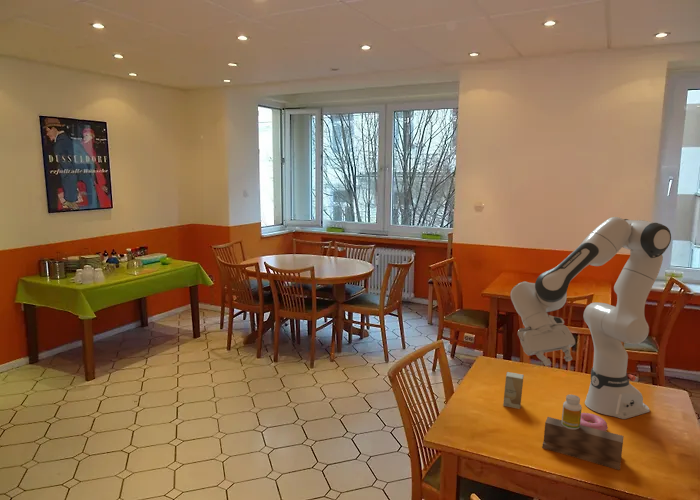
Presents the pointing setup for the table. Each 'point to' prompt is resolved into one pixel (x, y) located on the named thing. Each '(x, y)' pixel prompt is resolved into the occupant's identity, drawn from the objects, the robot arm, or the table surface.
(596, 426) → the doughnut
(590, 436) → the beam
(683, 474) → the table surface
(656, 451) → the table surface
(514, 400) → the skincare box
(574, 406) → the supplement bottle
